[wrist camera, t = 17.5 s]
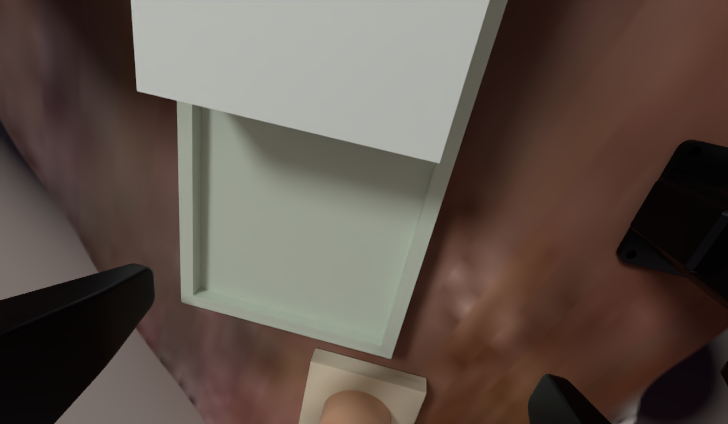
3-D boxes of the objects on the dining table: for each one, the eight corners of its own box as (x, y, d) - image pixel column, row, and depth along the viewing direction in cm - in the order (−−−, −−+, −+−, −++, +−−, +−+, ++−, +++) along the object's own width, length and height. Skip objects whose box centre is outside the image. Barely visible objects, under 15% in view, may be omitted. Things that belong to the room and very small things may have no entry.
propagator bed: (602, -318, 11) (630, -376, 10) (392, 340, 23) (391, 359, 21) (196, -383, 12) (165, -446, 10) (195, 287, 24) (181, 302, 22)
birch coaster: (426, 378, 24) (426, 393, 23) (398, 448, 27) (397, 464, 26) (315, 348, 24) (310, 361, 23) (301, 420, 27) (296, 435, 26)
